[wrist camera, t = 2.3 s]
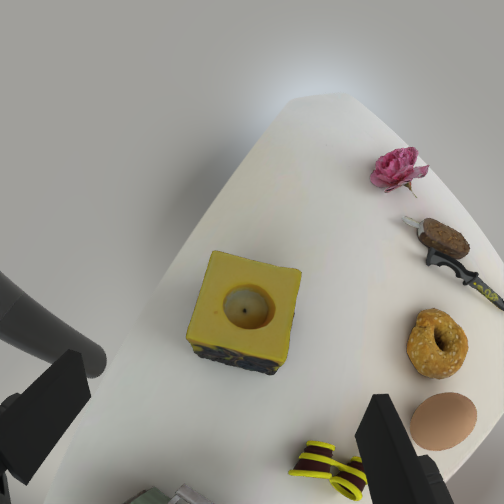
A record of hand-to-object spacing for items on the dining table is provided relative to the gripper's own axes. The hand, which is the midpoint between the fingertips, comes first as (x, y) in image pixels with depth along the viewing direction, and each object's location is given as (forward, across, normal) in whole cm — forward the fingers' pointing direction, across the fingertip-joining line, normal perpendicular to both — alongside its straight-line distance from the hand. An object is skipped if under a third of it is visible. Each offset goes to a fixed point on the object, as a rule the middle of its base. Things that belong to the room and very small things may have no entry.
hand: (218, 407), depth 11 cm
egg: (+16, +25, -18) cm, 35 cm away
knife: (+31, +38, -3) cm, 50 cm away
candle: (+24, 0, -9) cm, 26 cm away
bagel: (+24, +27, -10) cm, 38 cm away
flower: (+46, +25, +12) cm, 54 cm away
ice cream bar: (+38, +32, +4) cm, 49 cm away
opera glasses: (+12, +12, -22) cm, 28 cm away
